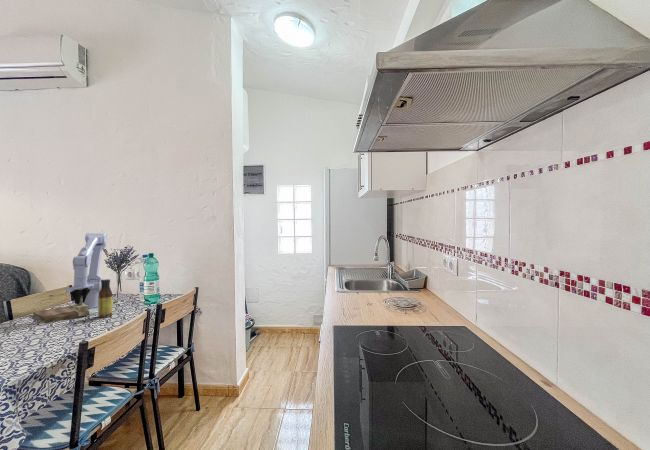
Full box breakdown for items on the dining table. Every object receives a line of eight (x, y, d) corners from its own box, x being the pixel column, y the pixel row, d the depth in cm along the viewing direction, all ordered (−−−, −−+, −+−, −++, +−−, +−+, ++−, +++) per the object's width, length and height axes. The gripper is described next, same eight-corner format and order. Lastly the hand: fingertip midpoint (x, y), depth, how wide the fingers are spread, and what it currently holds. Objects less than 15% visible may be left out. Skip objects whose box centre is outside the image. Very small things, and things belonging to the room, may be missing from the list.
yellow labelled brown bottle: (115, 315, 171) (116, 278, 171) (106, 318, 164) (107, 280, 165) (104, 314, 171) (105, 278, 171) (94, 317, 165) (96, 280, 165)
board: (74, 309, 180) (74, 305, 180) (89, 315, 169) (89, 311, 169) (33, 315, 165) (33, 311, 165) (46, 322, 154) (46, 318, 154)
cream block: (81, 312, 173) (81, 294, 173) (88, 314, 168) (88, 296, 168) (72, 313, 169) (73, 295, 169) (79, 316, 164) (79, 298, 164)
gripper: (86, 275, 177) (85, 299, 177) (61, 279, 163) (60, 305, 163) (97, 276, 176) (96, 300, 176) (72, 280, 162) (71, 306, 161)
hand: (79, 303), depth 169 cm, fingers closed on cream block, 2 cm apart
